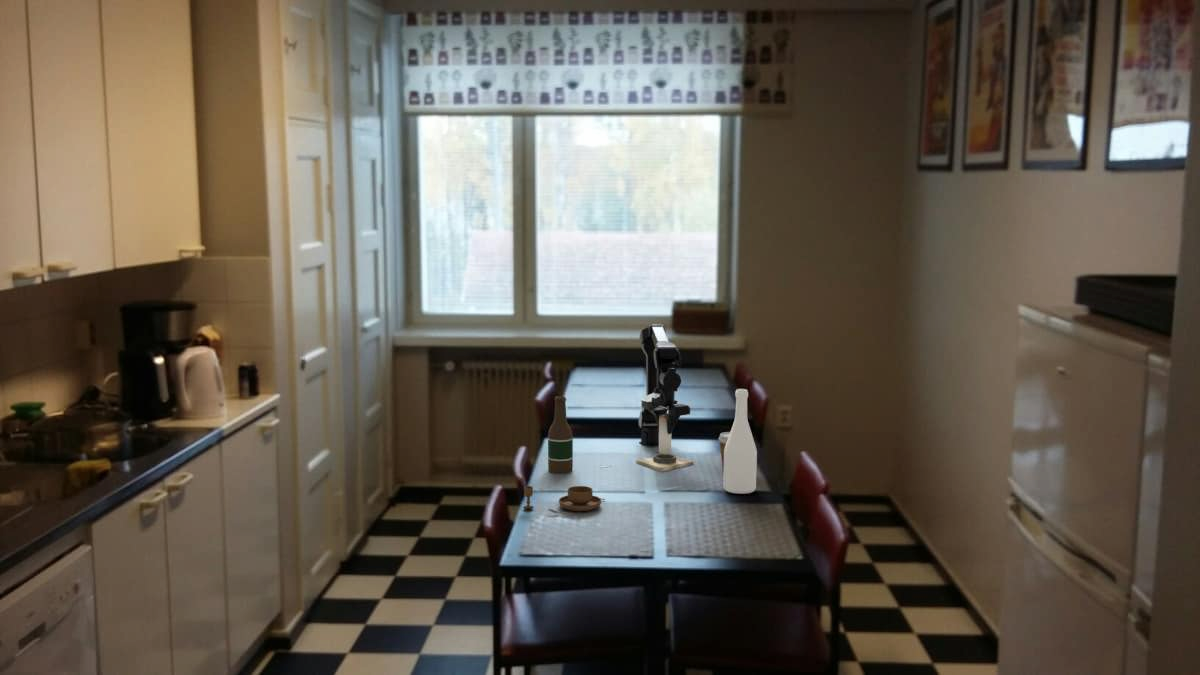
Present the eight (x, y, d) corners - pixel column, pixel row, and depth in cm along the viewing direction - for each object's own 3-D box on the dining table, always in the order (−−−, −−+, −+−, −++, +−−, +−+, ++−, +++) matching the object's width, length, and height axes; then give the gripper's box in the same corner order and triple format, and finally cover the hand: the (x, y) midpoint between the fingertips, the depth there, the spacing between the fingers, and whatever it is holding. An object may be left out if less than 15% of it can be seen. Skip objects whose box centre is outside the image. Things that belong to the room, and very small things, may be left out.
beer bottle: (574, 469, 320) (574, 394, 317) (571, 475, 312) (571, 399, 309) (549, 468, 320) (549, 394, 318) (546, 474, 313) (546, 398, 310)
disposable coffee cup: (712, 470, 319) (712, 433, 318) (737, 467, 323) (738, 430, 322) (728, 477, 311) (728, 439, 309) (754, 474, 315) (755, 436, 313)
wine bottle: (724, 494, 292) (727, 392, 288) (721, 485, 302) (723, 386, 298) (757, 494, 292) (760, 392, 288) (753, 485, 301) (756, 387, 298)
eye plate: (668, 458, 334) (669, 449, 334) (693, 466, 324) (693, 456, 324) (636, 464, 326) (636, 455, 325) (660, 472, 316) (660, 463, 316)
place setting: (588, 517, 271) (588, 496, 271) (520, 509, 278) (520, 488, 278) (610, 500, 288) (610, 480, 287) (546, 493, 295) (546, 473, 294)
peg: (656, 452, 325) (656, 415, 324) (666, 450, 327) (666, 414, 326) (663, 454, 322) (664, 417, 320) (673, 452, 324) (674, 416, 322)
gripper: (628, 382, 325) (627, 430, 327) (663, 391, 310) (662, 441, 312) (655, 379, 331) (655, 426, 333) (691, 388, 316) (691, 436, 318)
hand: (665, 432), depth 324 cm, fingers closed on peg, 4 cm apart
